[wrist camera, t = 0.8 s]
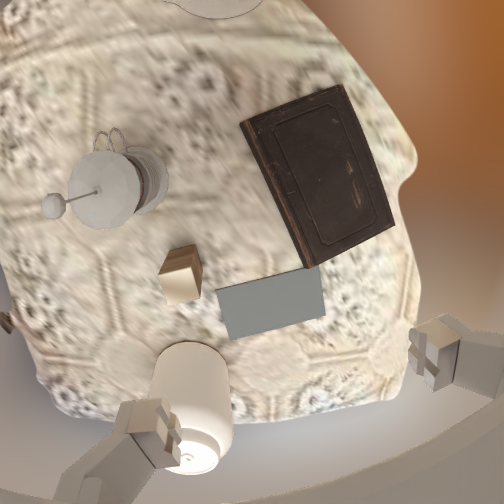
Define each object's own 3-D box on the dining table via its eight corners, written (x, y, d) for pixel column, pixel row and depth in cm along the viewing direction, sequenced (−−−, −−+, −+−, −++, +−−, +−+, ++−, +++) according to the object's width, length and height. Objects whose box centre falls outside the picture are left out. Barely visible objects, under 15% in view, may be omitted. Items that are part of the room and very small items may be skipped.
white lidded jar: (177, 402, 53) (169, 489, 34) (142, 352, 49) (116, 440, 30) (239, 383, 53) (251, 473, 34) (209, 329, 49) (209, 420, 30)
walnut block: (169, 251, 45) (157, 275, 35) (195, 244, 45) (190, 267, 36) (177, 276, 46) (168, 305, 37) (202, 270, 46) (200, 298, 37)
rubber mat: (215, 289, 47) (215, 290, 47) (317, 264, 48) (318, 264, 48) (230, 338, 50) (230, 340, 50) (324, 314, 51) (325, 315, 50)
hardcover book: (336, 86, 41) (342, 83, 39) (388, 222, 48) (395, 225, 46) (238, 124, 41) (239, 122, 39) (302, 265, 48) (306, 270, 46)
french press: (109, 220, 43) (15, 284, 19) (97, 142, 39) (-13, 134, 15) (173, 209, 43) (126, 268, 19) (162, 127, 40) (98, 91, 16)
